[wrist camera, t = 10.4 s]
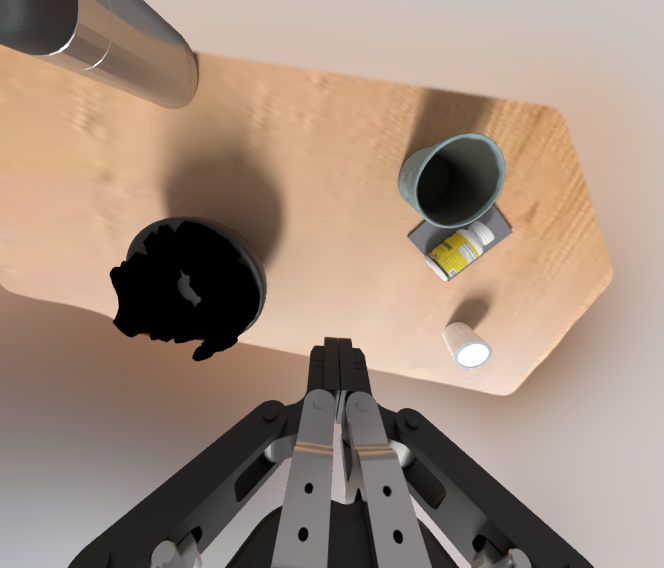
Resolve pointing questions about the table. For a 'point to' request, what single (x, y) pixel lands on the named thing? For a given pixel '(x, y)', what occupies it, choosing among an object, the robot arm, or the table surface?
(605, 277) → the table surface
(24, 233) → the table surface
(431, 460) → the robot arm
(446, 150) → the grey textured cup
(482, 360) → the shot glass
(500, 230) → the mat
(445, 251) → the supplement bottle
